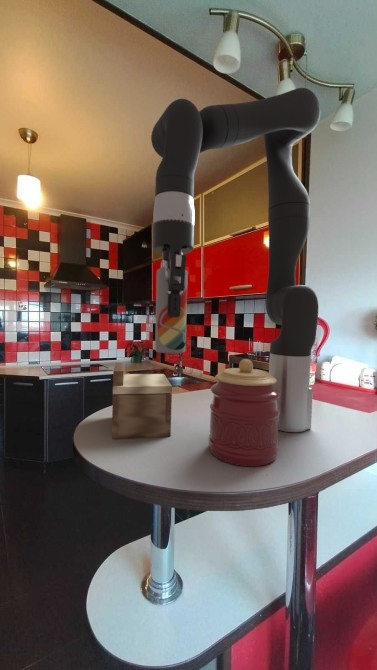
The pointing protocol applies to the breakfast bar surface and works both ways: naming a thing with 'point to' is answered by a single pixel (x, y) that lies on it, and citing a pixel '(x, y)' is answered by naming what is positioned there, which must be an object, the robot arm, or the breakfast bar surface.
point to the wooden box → (141, 415)
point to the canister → (244, 416)
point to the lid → (139, 382)
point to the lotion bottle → (168, 328)
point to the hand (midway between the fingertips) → (171, 316)
